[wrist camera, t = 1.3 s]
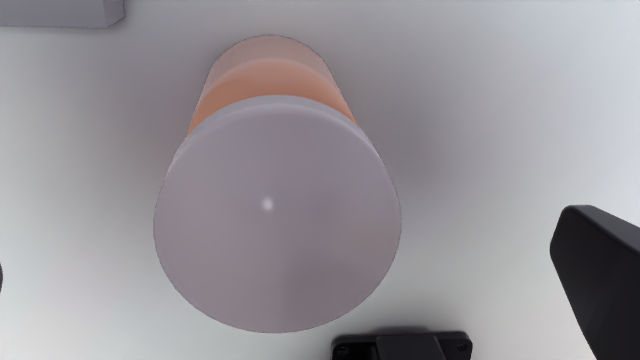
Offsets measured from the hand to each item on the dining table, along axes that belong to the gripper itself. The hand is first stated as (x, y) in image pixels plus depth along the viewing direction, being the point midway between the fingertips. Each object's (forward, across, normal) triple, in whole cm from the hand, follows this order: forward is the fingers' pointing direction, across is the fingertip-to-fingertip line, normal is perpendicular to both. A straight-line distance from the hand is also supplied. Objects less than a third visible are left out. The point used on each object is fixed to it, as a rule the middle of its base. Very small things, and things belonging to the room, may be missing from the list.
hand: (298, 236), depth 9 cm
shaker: (+12, -1, +3) cm, 13 cm away
